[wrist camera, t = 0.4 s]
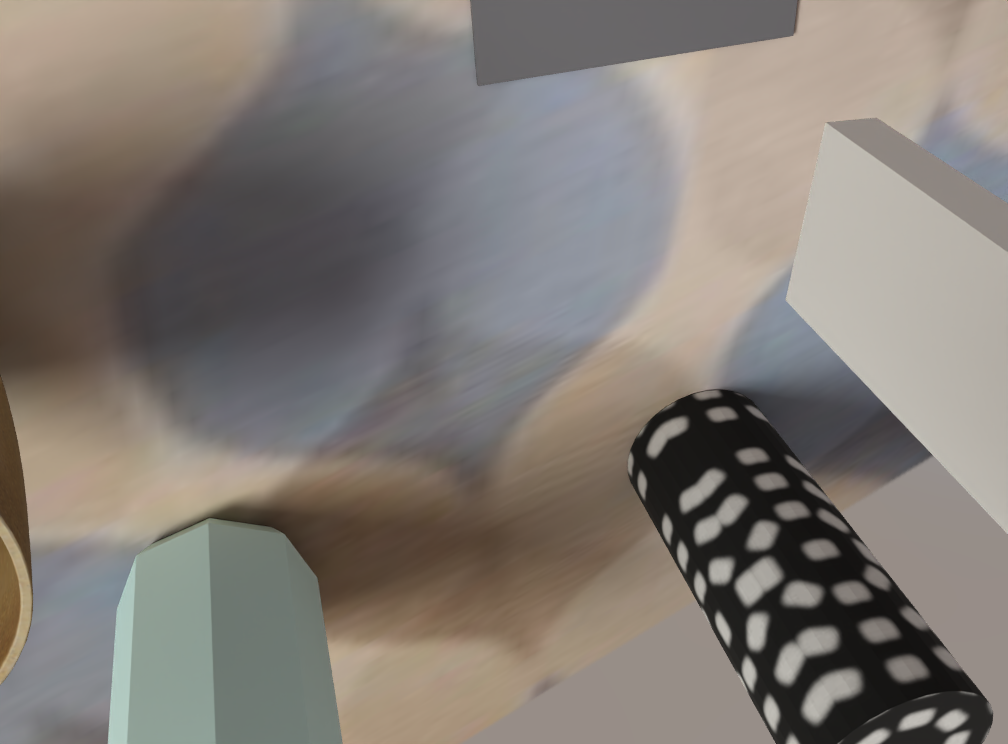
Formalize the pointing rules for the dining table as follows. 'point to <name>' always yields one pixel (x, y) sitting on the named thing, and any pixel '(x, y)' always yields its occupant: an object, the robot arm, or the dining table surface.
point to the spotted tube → (795, 586)
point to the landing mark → (612, 32)
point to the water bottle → (222, 643)
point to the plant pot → (13, 546)
